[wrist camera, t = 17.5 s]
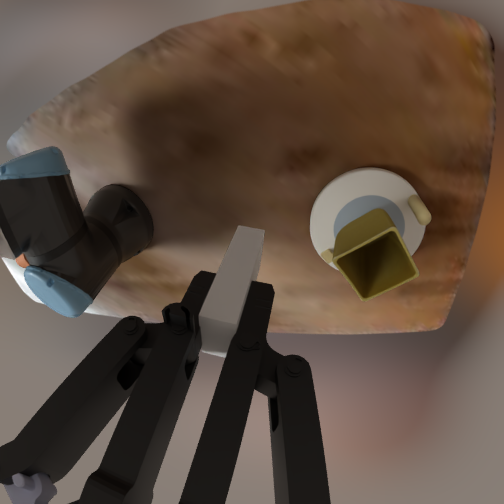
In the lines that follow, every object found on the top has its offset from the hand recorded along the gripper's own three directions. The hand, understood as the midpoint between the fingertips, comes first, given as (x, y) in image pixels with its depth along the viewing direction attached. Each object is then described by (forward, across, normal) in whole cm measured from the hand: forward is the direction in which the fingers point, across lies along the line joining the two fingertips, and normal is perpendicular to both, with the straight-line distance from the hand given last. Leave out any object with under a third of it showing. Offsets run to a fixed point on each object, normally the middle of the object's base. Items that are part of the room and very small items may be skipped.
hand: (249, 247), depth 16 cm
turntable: (+24, +14, -10) cm, 29 cm away
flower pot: (+23, +14, -10) cm, 28 cm away
